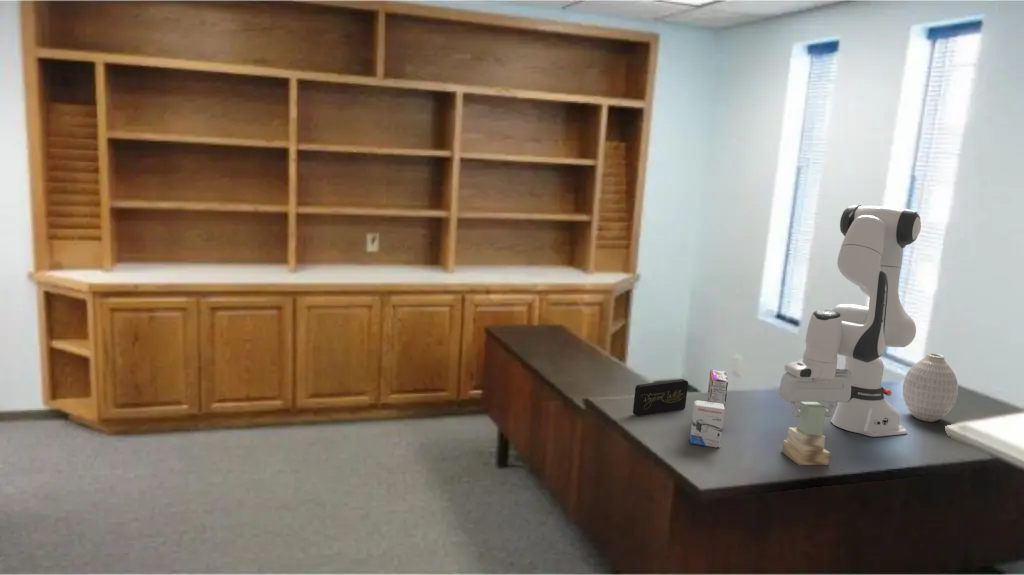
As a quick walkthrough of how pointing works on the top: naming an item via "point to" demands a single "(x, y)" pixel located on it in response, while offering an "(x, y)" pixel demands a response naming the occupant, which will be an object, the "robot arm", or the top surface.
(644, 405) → the nameplate
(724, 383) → the candy bar box
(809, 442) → the maple block
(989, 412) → the top surface
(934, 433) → the top surface
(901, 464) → the top surface
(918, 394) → the vase
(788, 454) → the oak block
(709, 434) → the ink box
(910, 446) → the top surface
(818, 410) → the sage block
